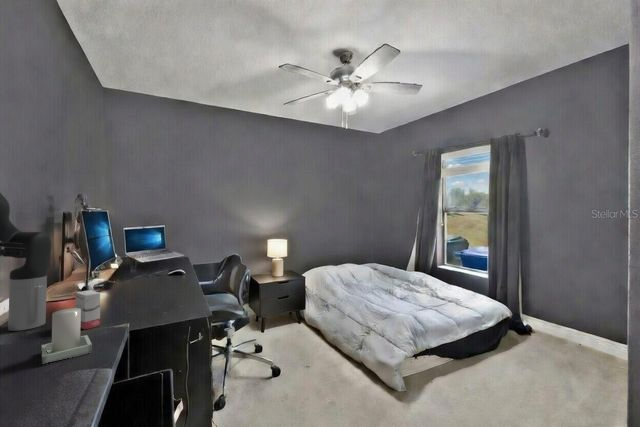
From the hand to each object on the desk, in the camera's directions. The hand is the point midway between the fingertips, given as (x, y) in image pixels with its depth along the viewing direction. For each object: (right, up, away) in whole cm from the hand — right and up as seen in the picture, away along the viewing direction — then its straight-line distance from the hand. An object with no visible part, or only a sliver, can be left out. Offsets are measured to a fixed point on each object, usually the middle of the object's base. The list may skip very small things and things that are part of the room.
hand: (23, 249), depth 76 cm
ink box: (-4, -30, +25) cm, 40 cm away
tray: (+8, -29, +4) cm, 31 cm away
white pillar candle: (+8, -29, +4) cm, 30 cm away
